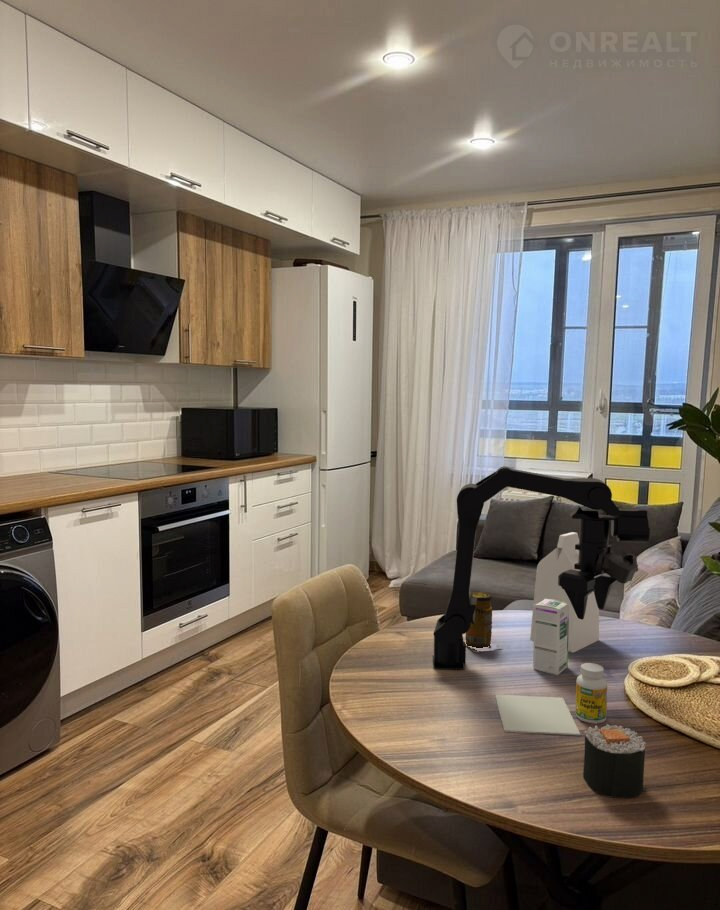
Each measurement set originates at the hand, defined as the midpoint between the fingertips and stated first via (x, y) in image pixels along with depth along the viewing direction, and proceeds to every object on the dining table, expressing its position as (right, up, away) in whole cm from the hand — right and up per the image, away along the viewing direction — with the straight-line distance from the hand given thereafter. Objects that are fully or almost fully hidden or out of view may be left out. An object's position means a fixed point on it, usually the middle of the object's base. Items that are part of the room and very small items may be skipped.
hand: (591, 613), depth 139 cm
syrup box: (-7, -13, +6) cm, 16 cm away
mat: (-16, -15, -16) cm, 27 cm away
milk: (+2, -12, +23) cm, 26 cm away
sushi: (-10, -17, -37) cm, 42 cm away
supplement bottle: (-6, -15, -16) cm, 23 cm away
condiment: (-20, -12, +19) cm, 30 cm away
